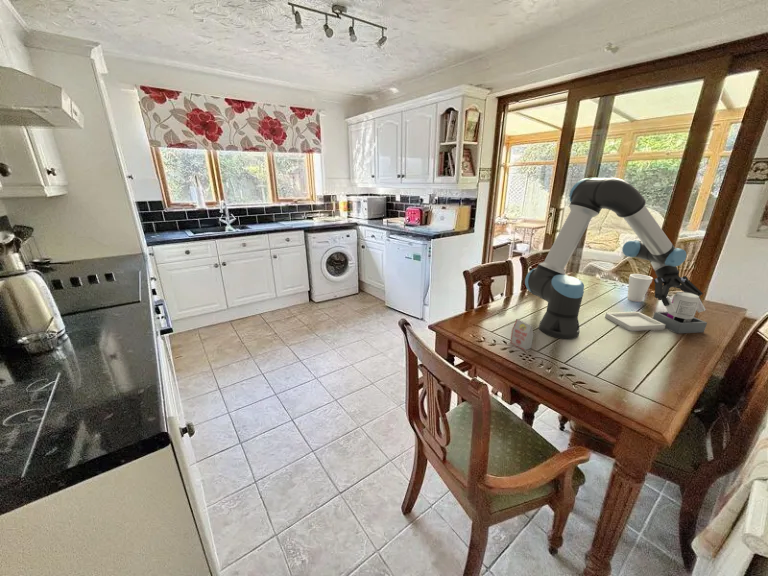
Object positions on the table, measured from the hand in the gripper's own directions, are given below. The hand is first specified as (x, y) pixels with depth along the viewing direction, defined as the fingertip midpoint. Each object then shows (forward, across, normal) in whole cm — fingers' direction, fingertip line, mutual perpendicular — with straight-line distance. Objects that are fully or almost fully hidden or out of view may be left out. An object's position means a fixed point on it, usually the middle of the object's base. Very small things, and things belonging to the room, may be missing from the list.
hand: (687, 312), depth 132 cm
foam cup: (-18, -8, -29) cm, 35 cm away
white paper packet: (+10, +76, -1) cm, 77 cm away
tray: (0, +16, -10) cm, 19 cm away
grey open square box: (+4, 0, -7) cm, 8 cm away
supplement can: (+4, 0, -7) cm, 8 cm away
